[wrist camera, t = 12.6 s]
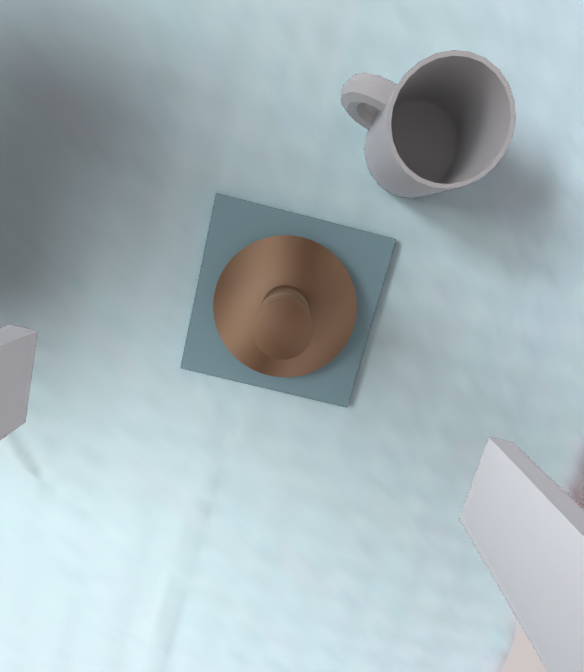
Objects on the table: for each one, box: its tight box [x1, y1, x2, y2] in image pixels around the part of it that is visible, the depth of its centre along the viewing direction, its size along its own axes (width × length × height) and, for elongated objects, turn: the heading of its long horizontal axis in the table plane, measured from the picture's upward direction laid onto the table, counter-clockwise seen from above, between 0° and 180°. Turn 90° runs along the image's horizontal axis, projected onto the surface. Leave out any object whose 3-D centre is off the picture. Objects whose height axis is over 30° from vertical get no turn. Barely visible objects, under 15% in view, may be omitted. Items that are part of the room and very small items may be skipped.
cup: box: [341, 50, 516, 198], centre depth 31 cm, size 7×10×9 cm
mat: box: [181, 193, 396, 407], centre depth 37 cm, size 14×14×1 cm
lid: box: [213, 235, 357, 377], centre depth 33 cm, size 11×11×9 cm
